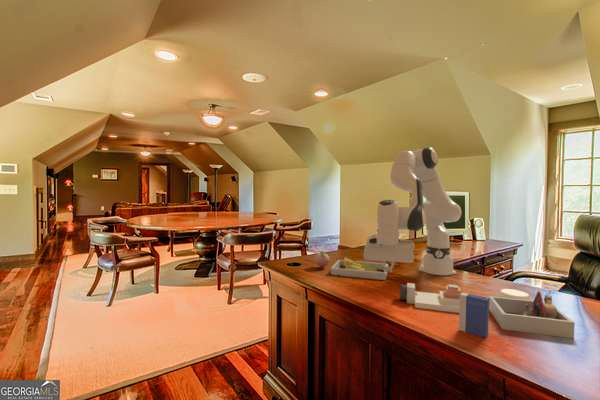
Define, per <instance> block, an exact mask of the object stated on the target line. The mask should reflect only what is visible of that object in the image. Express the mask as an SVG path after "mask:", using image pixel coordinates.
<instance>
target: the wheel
mask: <svg viewBox="0 0 600 400" xmlns="http://www.w3.org/2000/svg"><path fill="white" fill-rule="evenodd" d="M417 292H418V291H417ZM417 292H415V295H416V296H417ZM399 300H400V301H401V300H402V301H407V284H400V286H399Z"/></svg>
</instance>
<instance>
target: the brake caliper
mask: <svg viewBox="0 0 600 400" xmlns="http://www.w3.org/2000/svg"><path fill="white" fill-rule="evenodd" d="M552 298H553V296H552V295H550V296H549V295H548V294H545V295H544V299H543V297H542V293H541V291H539V290H538V291H537V293H536V295H535V297H534V299H533V301H534V302H533V310H532V309H529V308H528V304H526V305H525V306H524V309H523V311H522V314H521V315H524V316H533V317H541V318H550V319H556V318H557V309H558V308H557V307H556V305H554V304H553V299H552ZM543 302H545V303H543ZM537 304H538V305H537ZM556 308H557V309H556Z"/></svg>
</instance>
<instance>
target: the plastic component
mask: <svg viewBox="0 0 600 400" xmlns="http://www.w3.org/2000/svg"><path fill="white" fill-rule="evenodd" d="M343 260H344V266H345V267H344V266H343V267H344V269H351V270H362V271H373V272H378V269H377V268H374V267H371V266H369V265H365V264H362V263H360V262H357V261H356V260H354V259H351V258H349V257H345V256H344V258H343Z"/></svg>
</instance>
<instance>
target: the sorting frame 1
mask: <svg viewBox="0 0 600 400" xmlns="http://www.w3.org/2000/svg"><path fill="white" fill-rule="evenodd" d="M357 262H360V263H362V264H365V265H369V266H371V267H374V268H377V271H376V272H373V271H362V270H351V269H345V268H340V267H344V259H338V260H337V261H336V262H335V263H334V264H333V265H332V266H331V268H330V275H331V274H332V276H338V275H340V276H339V277H348V278H361V279H372V280H381V281H386V279H387V275H388V272H385V268H384V266H383V265H382V262H374V261H372V262H371V261H360V260H358V261H357ZM385 265H386V267H389V263H385ZM378 270H380V271H381V272H380V271H378ZM382 271H383V272H382Z"/></svg>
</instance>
